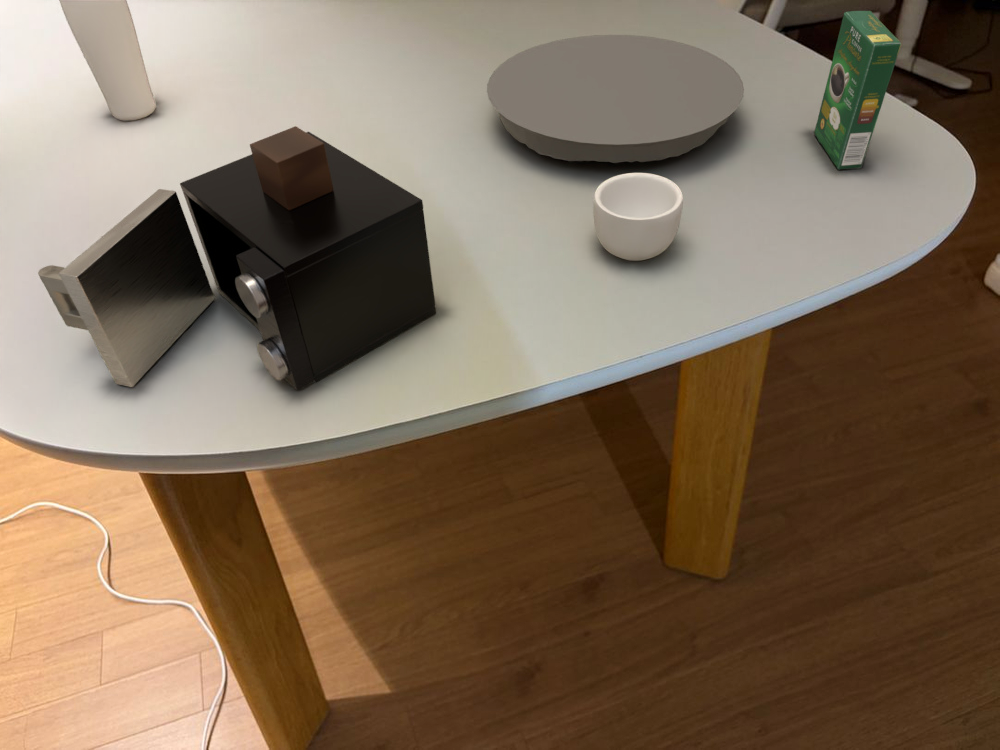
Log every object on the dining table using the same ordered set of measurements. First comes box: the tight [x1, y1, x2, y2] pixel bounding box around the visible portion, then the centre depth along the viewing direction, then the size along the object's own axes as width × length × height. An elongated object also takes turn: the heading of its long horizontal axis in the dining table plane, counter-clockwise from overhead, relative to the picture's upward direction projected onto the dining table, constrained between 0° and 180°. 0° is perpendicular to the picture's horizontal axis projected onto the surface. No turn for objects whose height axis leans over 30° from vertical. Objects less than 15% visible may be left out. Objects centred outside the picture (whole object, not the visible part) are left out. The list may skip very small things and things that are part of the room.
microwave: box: [179, 131, 437, 391], centre depth 65 cm, size 14×16×11 cm
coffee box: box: [813, 10, 902, 170], centre depth 80 cm, size 8×3×13 cm, turn 2°
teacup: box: [592, 172, 684, 262], centre depth 72 cm, size 10×8×5 cm
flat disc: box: [486, 34, 745, 164], centre depth 90 cm, size 28×28×4 cm
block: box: [249, 125, 334, 210], centre depth 60 cm, size 4×4×4 cm
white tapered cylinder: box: [58, 0, 157, 122], centre depth 93 cm, size 7×7×15 cm
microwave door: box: [37, 188, 215, 388], centre depth 63 cm, size 7×12×11 cm, turn 162°
